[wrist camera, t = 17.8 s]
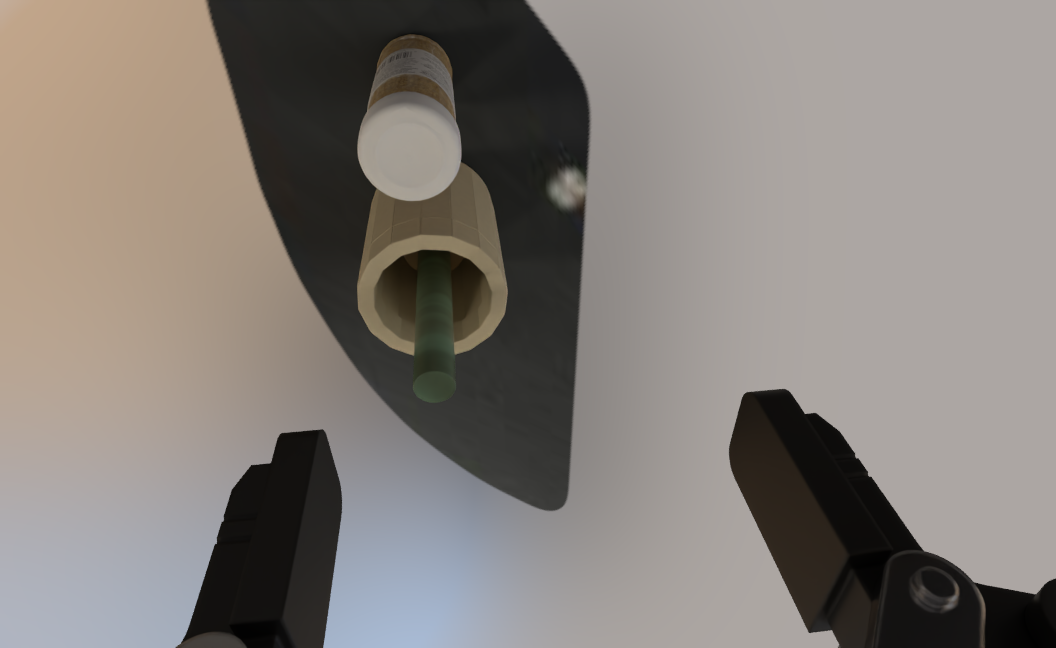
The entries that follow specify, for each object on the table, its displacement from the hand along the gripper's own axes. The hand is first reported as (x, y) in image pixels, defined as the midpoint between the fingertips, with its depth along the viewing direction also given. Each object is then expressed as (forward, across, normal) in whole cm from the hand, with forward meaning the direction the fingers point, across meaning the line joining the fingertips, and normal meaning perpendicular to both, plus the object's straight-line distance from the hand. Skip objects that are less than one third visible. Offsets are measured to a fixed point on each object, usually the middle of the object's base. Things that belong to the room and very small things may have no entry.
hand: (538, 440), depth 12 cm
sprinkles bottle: (+32, +3, +2) cm, 32 cm away
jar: (+32, +3, +11) cm, 34 cm away
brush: (+32, +3, +11) cm, 34 cm away
